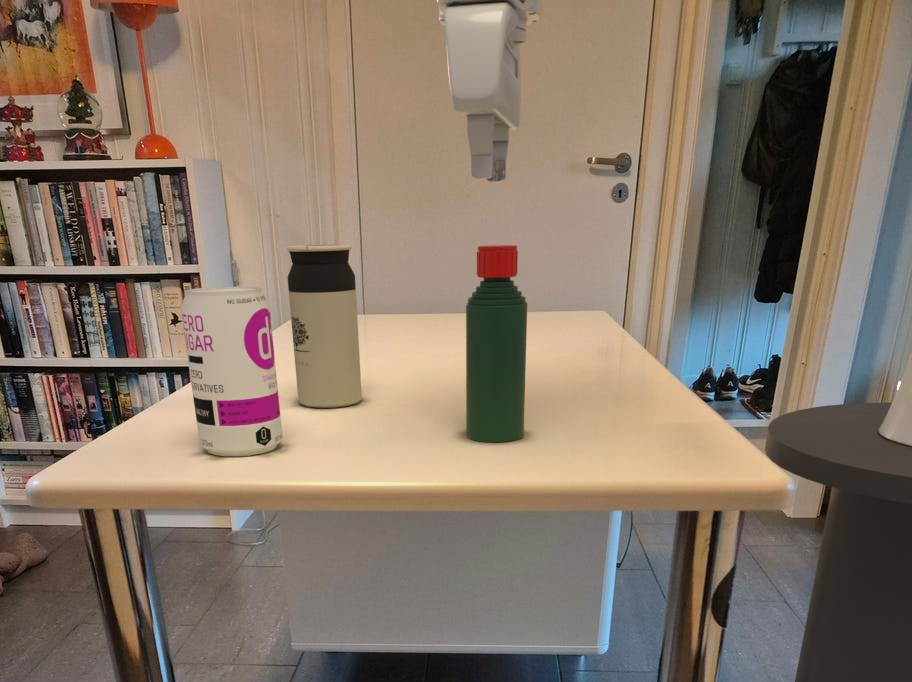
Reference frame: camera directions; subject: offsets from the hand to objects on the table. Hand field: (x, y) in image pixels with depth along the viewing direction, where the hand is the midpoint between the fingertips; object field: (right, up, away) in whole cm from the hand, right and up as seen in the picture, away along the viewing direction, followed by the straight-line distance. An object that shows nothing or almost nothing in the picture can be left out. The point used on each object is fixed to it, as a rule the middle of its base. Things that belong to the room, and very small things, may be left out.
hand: (489, 180), depth 79 cm
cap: (+1, -7, +4) cm, 8 cm away
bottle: (+1, -21, +10) cm, 24 cm away
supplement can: (-25, -23, +8) cm, 35 cm away
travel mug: (-18, -13, +29) cm, 36 cm away
